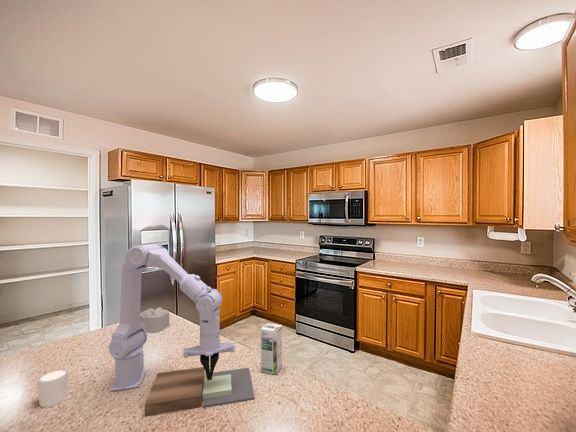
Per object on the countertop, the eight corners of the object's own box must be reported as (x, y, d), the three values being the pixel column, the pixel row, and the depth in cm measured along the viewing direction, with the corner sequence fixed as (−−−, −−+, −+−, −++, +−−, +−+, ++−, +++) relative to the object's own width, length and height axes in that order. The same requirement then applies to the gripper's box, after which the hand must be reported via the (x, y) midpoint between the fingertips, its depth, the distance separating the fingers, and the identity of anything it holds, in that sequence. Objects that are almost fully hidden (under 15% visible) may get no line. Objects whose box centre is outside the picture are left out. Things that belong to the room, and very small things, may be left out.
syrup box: (260, 372, 90) (260, 328, 90) (267, 363, 95) (267, 322, 96) (275, 375, 88) (275, 330, 88) (282, 366, 93) (282, 324, 94)
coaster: (204, 382, 83) (204, 377, 83) (230, 379, 85) (230, 374, 85) (202, 399, 75) (202, 393, 75) (231, 394, 77) (231, 389, 77)
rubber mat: (206, 375, 88) (206, 373, 88) (248, 369, 92) (248, 367, 92) (202, 407, 73) (202, 405, 73) (254, 399, 76) (254, 397, 76)
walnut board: (157, 382, 84) (157, 372, 84) (204, 376, 88) (204, 366, 88) (144, 416, 70) (144, 404, 70) (201, 406, 73) (201, 395, 73)
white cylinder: (52, 392, 80) (52, 368, 80) (74, 392, 80) (75, 368, 80) (29, 408, 73) (29, 382, 73) (53, 408, 73) (54, 382, 73)
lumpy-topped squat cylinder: (157, 333, 121) (157, 314, 121) (132, 331, 124) (132, 312, 124) (172, 325, 131) (172, 307, 131) (149, 323, 134) (149, 305, 134)
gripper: (181, 340, 75) (181, 390, 74) (235, 335, 78) (235, 382, 78) (185, 330, 81) (185, 376, 81) (233, 326, 85) (234, 369, 85)
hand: (209, 378), depth 80 cm, fingers closed
